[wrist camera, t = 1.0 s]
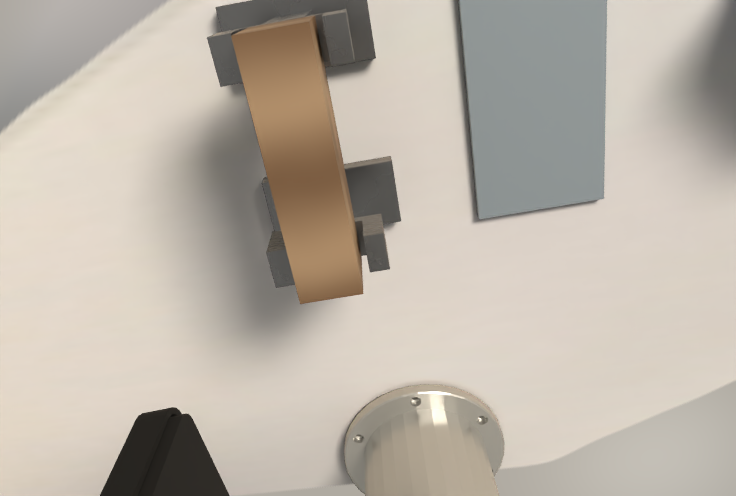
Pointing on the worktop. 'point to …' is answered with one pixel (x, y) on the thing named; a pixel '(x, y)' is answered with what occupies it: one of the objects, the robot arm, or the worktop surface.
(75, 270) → the worktop surface
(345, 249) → the tan wooden bar
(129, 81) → the worktop surface
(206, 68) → the worktop surface
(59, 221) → the worktop surface
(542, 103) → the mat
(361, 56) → the stand
